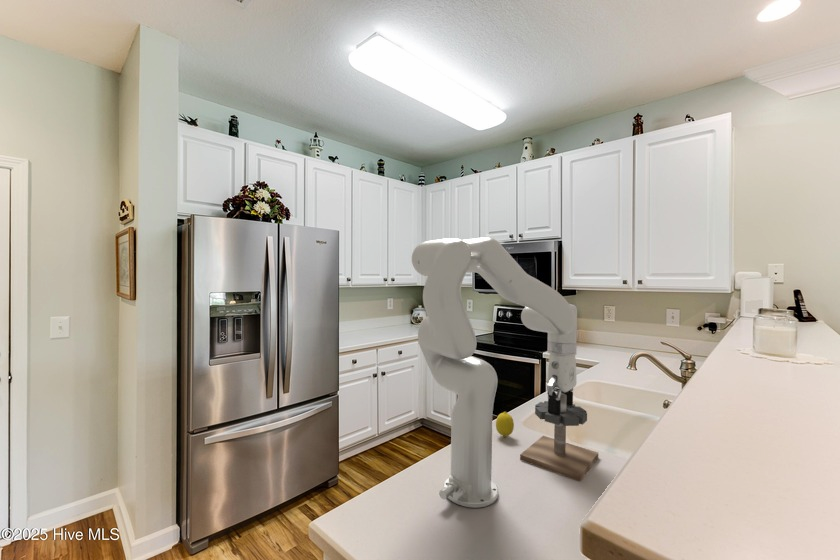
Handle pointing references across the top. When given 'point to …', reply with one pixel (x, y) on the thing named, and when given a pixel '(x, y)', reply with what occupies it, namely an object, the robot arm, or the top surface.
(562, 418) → the grey flat ring
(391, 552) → the top surface
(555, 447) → the pipe stand
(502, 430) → the lemon
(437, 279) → the robot arm
